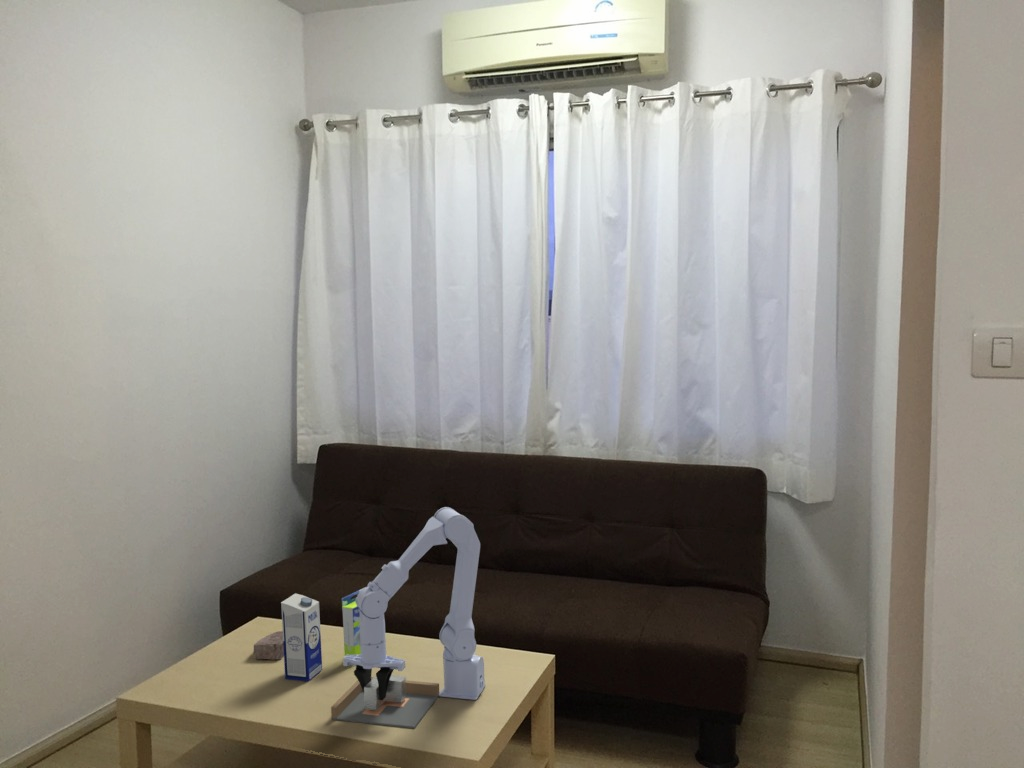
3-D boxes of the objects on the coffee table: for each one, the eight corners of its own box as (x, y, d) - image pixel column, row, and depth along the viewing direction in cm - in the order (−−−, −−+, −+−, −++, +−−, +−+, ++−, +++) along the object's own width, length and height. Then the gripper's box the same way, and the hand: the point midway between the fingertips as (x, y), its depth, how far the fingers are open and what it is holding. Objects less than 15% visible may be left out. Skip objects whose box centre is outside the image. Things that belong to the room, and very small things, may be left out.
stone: (266, 643, 229) (265, 627, 228) (298, 643, 228) (297, 627, 228) (250, 661, 217) (249, 644, 217) (283, 661, 217) (283, 644, 216)
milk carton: (299, 667, 212) (295, 592, 210) (322, 669, 210) (319, 594, 209) (284, 679, 205) (280, 601, 204) (308, 681, 204) (304, 603, 202)
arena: (439, 695, 194) (439, 683, 194) (414, 728, 179) (414, 715, 179) (362, 687, 199) (361, 676, 199) (331, 719, 184) (331, 707, 184)
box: (355, 665, 212) (352, 600, 211) (342, 662, 214) (339, 598, 213) (380, 650, 221) (377, 588, 220) (368, 647, 223) (365, 586, 222)
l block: (378, 694, 193) (378, 673, 193) (406, 697, 191) (406, 676, 191) (364, 708, 185) (364, 687, 185) (392, 712, 184) (392, 690, 183)
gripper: (336, 644, 185) (338, 702, 186) (395, 649, 181) (398, 708, 182) (349, 632, 191) (352, 688, 193) (407, 637, 188) (409, 694, 189)
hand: (375, 697), depth 188 cm, fingers closed on l block, 3 cm apart
